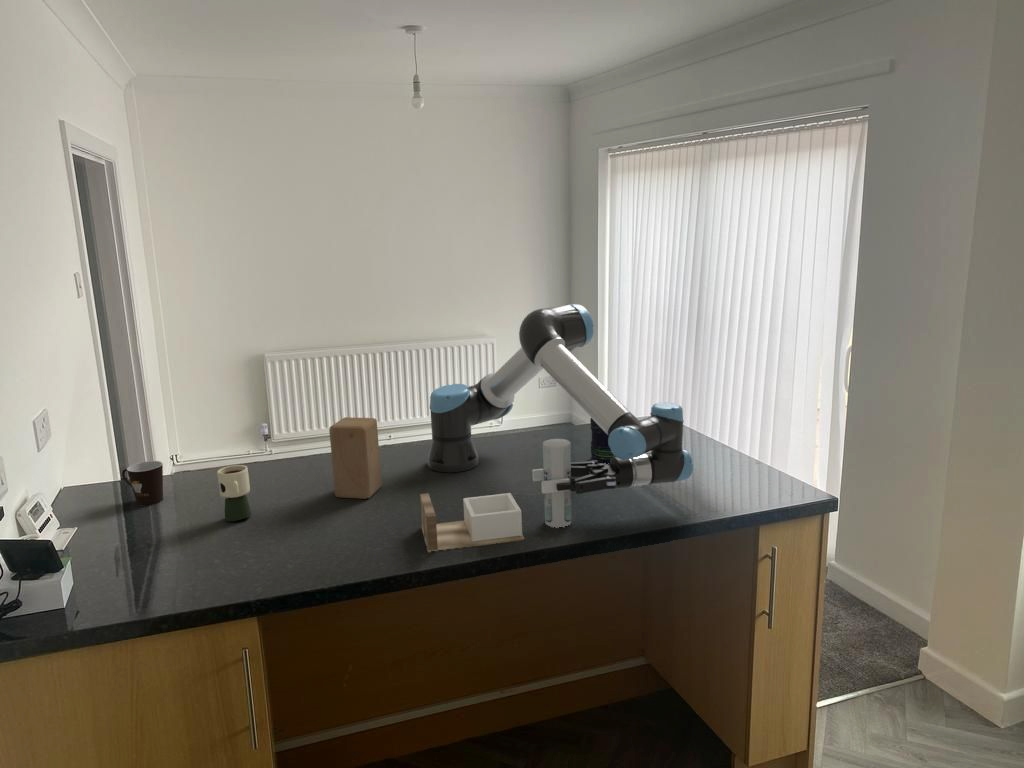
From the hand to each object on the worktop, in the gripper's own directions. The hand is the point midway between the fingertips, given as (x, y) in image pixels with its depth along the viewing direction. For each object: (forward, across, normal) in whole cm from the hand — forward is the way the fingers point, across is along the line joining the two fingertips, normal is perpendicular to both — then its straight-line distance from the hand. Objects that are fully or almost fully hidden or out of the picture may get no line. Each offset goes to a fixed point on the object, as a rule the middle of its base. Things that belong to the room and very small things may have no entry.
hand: (537, 481), depth 172 cm
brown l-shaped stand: (+16, 0, -11) cm, 20 cm away
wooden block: (+41, +35, -11) cm, 55 cm away
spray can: (-5, 0, -11) cm, 12 cm away
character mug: (+71, +26, -11) cm, 77 cm away
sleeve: (+11, 0, -10) cm, 15 cm away
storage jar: (-32, +40, -11) cm, 52 cm away
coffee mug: (+97, +47, -11) cm, 109 cm away
